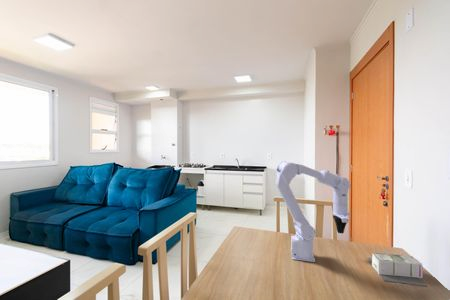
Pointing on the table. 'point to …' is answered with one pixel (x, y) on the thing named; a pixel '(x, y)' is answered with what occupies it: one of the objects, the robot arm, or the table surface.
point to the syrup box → (397, 265)
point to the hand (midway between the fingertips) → (340, 232)
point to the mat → (401, 278)
